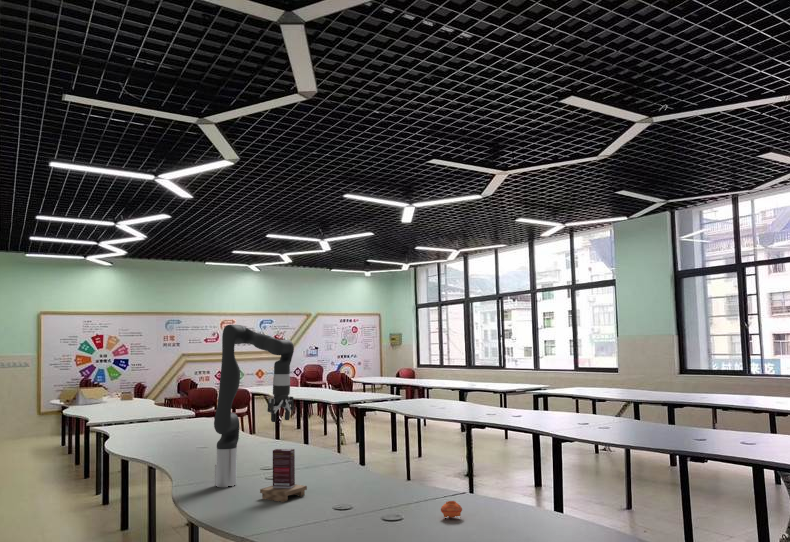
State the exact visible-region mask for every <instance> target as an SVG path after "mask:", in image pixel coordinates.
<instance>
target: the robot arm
mask: <svg viewBox="0 0 790 542" xmlns="http://www.w3.org/2000/svg"><path fill="white" fill-rule="evenodd" d="M221 336H222V338H221V342H222V343H221V345H222V346H221V347H222V349H221V352H222V353H221V365H220V366H221V367H220V368H221V369H220V376H219V389H218V396H217V405H216V411H215V415H214V419H213V420H214V421H213V428H214V430H215V432H216V433H217V434H219V435H221V436H220V438H219V440H218V441H217V443H216V464H215V465H214V486H215V485H216V486H217V488H229V487H228V486H232V487H235V486H237V472H238V470H237V469H238V468H237V466H238V465H237V464H238V463H237V460H238V457H237V456H238V453H237V452H238V448H237V447H238V443H239V439H240V437H239V436H240V419H239V416H238V415H237V414H236V413H235V412H232V406H233V403H234V399H235V397H236V395H237V393H238V390H239V389H240V382H241V370H240V366H239V363H238V362H237V360H236V356H235V346H236V345H243V344H247V345H252V346H253V347H255V348H257V349H259V350H261V351H265V352H268V353H269V354H271V355H275V356H280V358H279V360H276V361H275V362H274V364H273V378H272V395H273V398H272V397H271V398H269V397H268V401H267V412H268V413H270V421H271V422H272V423H276V422H277V412H278V410H279V409H281V408H283V409H284V420H285V421H290V418H291V411H293V410H294V396H290V395H291V376H290V375H291V374H290V373H291V372H290V371H291V367H290V366H291V362H292V359H293V356H294V352H295V346H294V343H293V342H292V340H290V339H277V338H276V337H274V336H271V335H269V334H268V335H267V334H263V333H259V332H256V331H253V330H252V329H251V328H248V327H246V326H244V325H242V324H227V325H225V327H223V331H222V335H221ZM234 485H235V486H234ZM216 486H215V487H216Z"/></svg>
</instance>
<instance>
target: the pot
mask: <svg viewBox="0 0 790 542" xmlns="http://www.w3.org/2000/svg"><path fill="white" fill-rule="evenodd" d="M462 511H463V508H462V506H461V505H460V503H458V502H457V501H455V500H450V501H449V500H448V501H446V502H445V503H444V504H443V505H442V506H441V507H440V512H441V513H442V514H443V518H444V517H447V516H449V517H447V518H455V516H456V517H457V516H461V515H462V514H461V513H462Z"/></svg>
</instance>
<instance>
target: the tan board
mask: <svg viewBox="0 0 790 542" xmlns="http://www.w3.org/2000/svg"><path fill="white" fill-rule="evenodd" d="M307 490H308V486H307V485H303V484H302V485H301V484H295V487H293V488H291V489H288V488H273V485H270V486H265V487H263V488H260V489H259V493H260V494H262V495H261V497H262V500H266V499H268V500H267V501H273V500H274V501H273V502H279V501H281V502H280V503H285V501H286V502H288V499H289V498H288V496H294V495H299V496H298V497H303V496H302V495H304V496H305V491H307Z"/></svg>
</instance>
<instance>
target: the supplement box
mask: <svg viewBox="0 0 790 542" xmlns="http://www.w3.org/2000/svg"><path fill="white" fill-rule="evenodd" d="M295 452H296V451H295V448H275V449H273V450H272V486H273V488H288V489H291V488H293V487H295V483H296V479H295V478H296V477H295V476H296V475H295V474H296V471H295V467H296V465H295V462H296V461H295V460H296V459H295V457H296V455H295Z"/></svg>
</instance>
